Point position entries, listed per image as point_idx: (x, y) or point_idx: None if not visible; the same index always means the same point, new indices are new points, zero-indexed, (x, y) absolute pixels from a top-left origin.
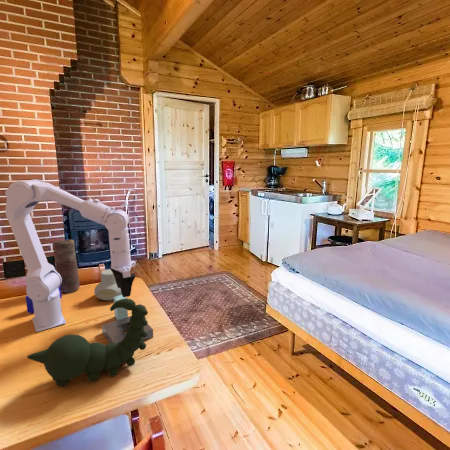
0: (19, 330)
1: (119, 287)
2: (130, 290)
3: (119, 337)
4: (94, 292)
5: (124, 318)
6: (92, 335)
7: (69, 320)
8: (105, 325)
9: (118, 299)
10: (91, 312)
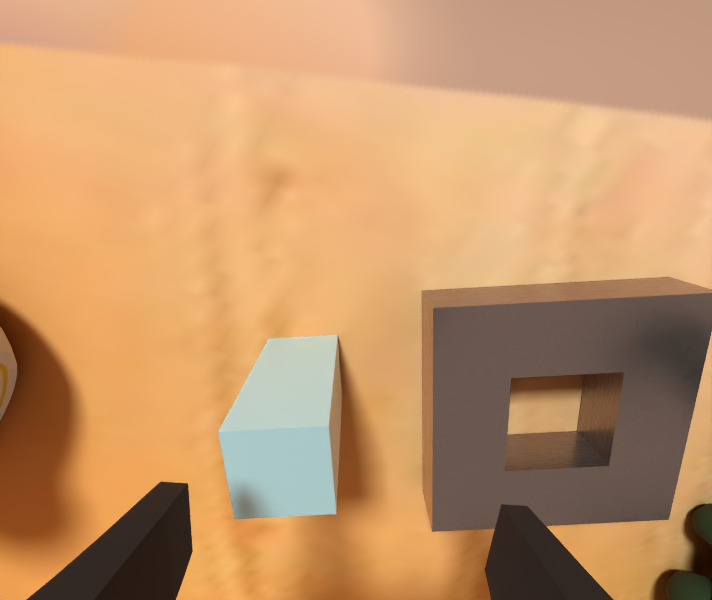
0: None
1: (187, 543)
2: (588, 580)
3: (640, 487)
4: None
5: (439, 407)
6: (416, 530)
7: (193, 589)
8: (451, 517)
9: (320, 496)
10: None
